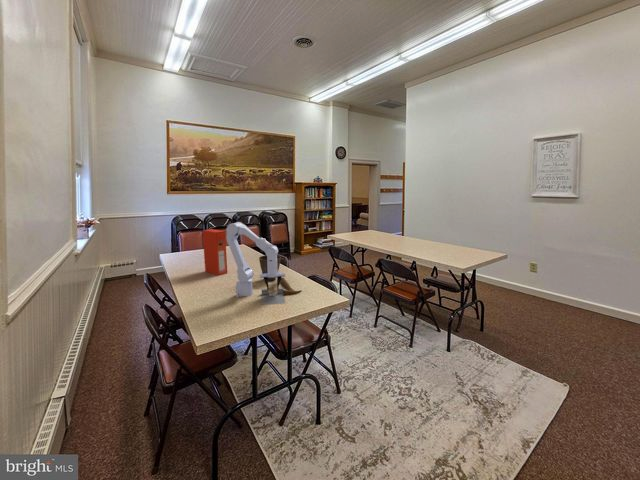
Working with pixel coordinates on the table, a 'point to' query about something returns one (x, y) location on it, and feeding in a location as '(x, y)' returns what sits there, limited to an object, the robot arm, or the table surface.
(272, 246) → the robot arm
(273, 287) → the cabinet block
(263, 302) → the wall board
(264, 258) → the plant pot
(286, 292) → the hammer
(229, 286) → the table surface
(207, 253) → the file binder
